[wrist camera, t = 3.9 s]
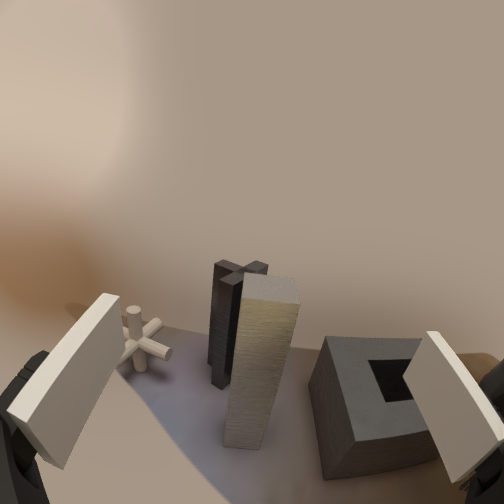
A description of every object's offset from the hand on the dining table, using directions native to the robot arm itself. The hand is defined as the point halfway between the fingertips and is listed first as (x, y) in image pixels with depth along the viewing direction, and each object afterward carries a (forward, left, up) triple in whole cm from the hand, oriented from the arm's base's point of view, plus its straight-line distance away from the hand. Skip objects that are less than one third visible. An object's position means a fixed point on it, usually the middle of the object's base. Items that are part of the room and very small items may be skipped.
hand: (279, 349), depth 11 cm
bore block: (-9, -19, -22) cm, 31 cm away
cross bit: (+12, -17, -22) cm, 31 cm away
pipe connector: (+22, -9, -23) cm, 32 cm away
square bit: (+5, -9, -22) cm, 24 cm away
